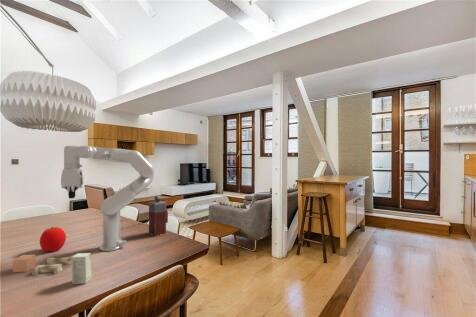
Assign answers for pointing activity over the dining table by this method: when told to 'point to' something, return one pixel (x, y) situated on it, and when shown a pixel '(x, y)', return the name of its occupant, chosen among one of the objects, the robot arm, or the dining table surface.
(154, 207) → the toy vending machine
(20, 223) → the dining table surface
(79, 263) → the skincare box
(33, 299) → the dining table surface
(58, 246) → the tomato
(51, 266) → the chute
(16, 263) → the block
